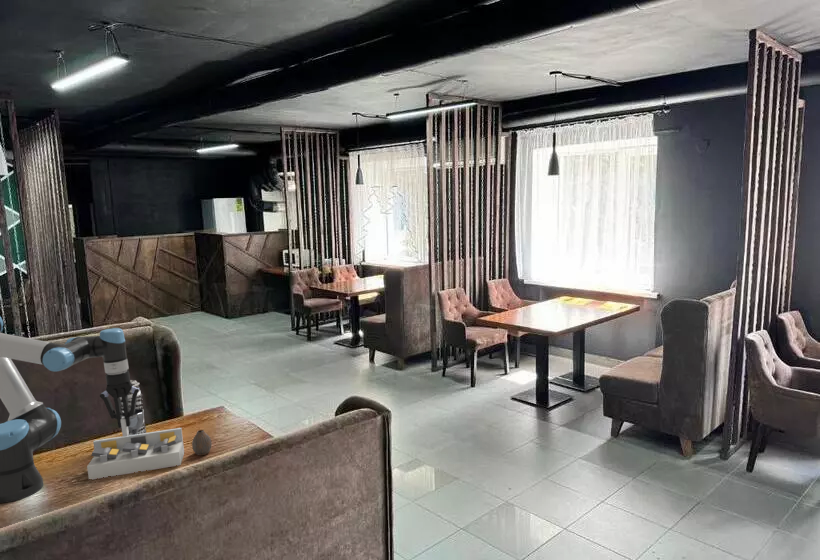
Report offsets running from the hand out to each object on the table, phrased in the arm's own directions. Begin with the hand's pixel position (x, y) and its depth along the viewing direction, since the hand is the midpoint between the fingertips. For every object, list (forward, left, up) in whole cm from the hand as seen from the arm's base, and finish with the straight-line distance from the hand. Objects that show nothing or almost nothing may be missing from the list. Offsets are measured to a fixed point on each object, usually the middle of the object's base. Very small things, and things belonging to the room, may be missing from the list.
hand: (125, 435), depth 202 cm
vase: (+25, +3, -13) cm, 28 cm away
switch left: (-7, 0, -6) cm, 9 cm away
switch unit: (+3, 0, -13) cm, 13 cm away
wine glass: (-1, +18, -13) cm, 22 cm away
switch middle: (+3, 0, -6) cm, 6 cm away
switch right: (+13, 0, -6) cm, 14 cm away
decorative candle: (-3, +27, -13) cm, 30 cm away
